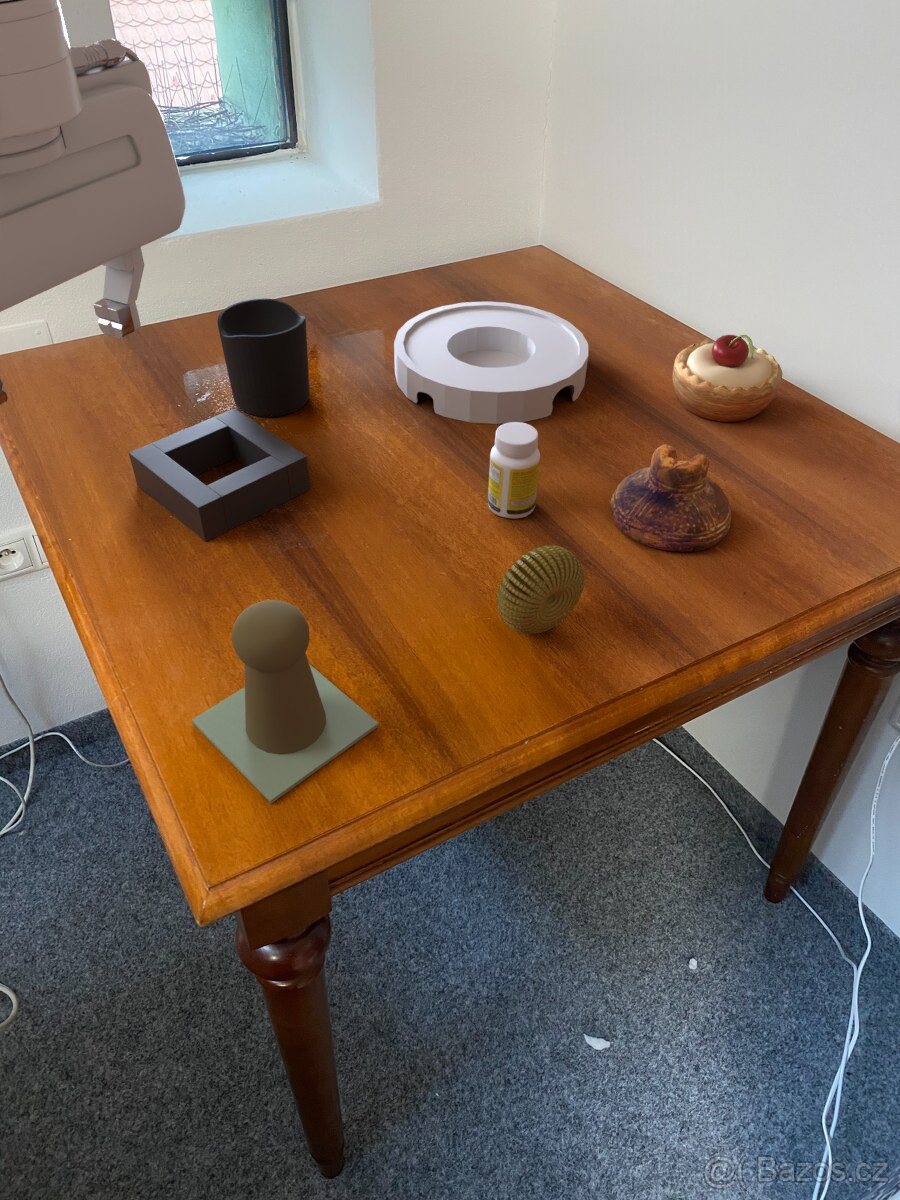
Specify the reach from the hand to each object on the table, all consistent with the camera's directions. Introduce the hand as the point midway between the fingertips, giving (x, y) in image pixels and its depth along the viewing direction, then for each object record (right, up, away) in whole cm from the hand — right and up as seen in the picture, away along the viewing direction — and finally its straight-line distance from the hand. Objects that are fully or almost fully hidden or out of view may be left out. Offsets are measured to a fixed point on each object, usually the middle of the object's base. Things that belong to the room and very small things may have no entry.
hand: (58, 366), depth 47 cm
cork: (+9, -22, +19) cm, 30 cm away
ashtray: (+26, +15, +60) cm, 67 cm away
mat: (+9, -22, +19) cm, 31 cm away
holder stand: (-2, -1, +42) cm, 42 cm away
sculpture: (+28, -15, +28) cm, 43 cm away
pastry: (+53, +11, +56) cm, 78 cm away
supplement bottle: (+27, -3, +40) cm, 49 cm away
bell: (+43, -5, +39) cm, 58 cm away
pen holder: (0, +11, +55) cm, 56 cm away
